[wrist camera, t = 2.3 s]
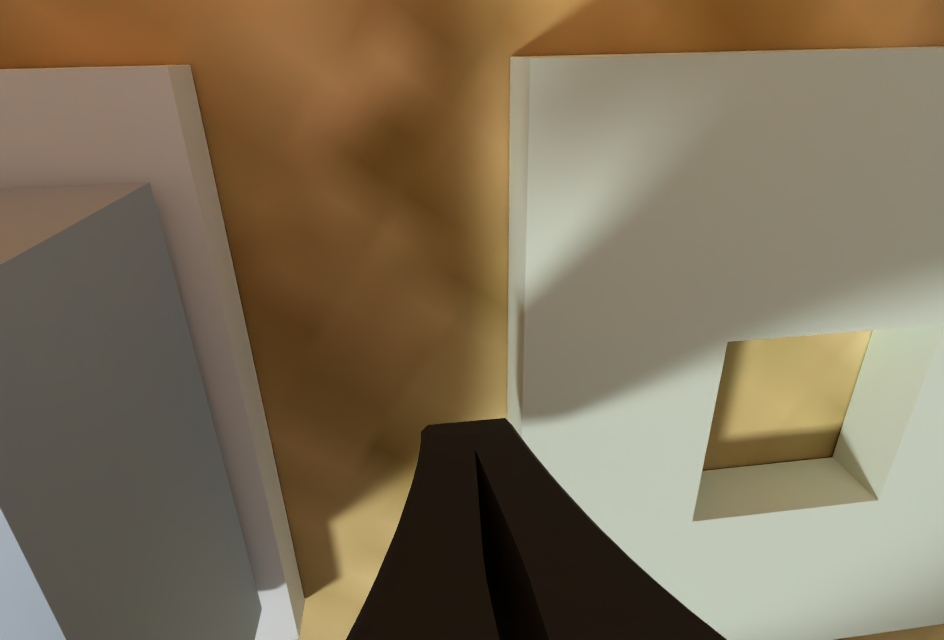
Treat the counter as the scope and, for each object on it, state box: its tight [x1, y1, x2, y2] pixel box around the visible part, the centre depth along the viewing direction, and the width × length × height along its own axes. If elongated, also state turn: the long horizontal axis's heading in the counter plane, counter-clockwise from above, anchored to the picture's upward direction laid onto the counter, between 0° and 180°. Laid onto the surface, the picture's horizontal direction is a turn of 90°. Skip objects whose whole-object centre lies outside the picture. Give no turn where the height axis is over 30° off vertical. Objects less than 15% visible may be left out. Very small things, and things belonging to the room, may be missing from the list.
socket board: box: [507, 46, 944, 640], centre depth 12 cm, size 14×12×2 cm
